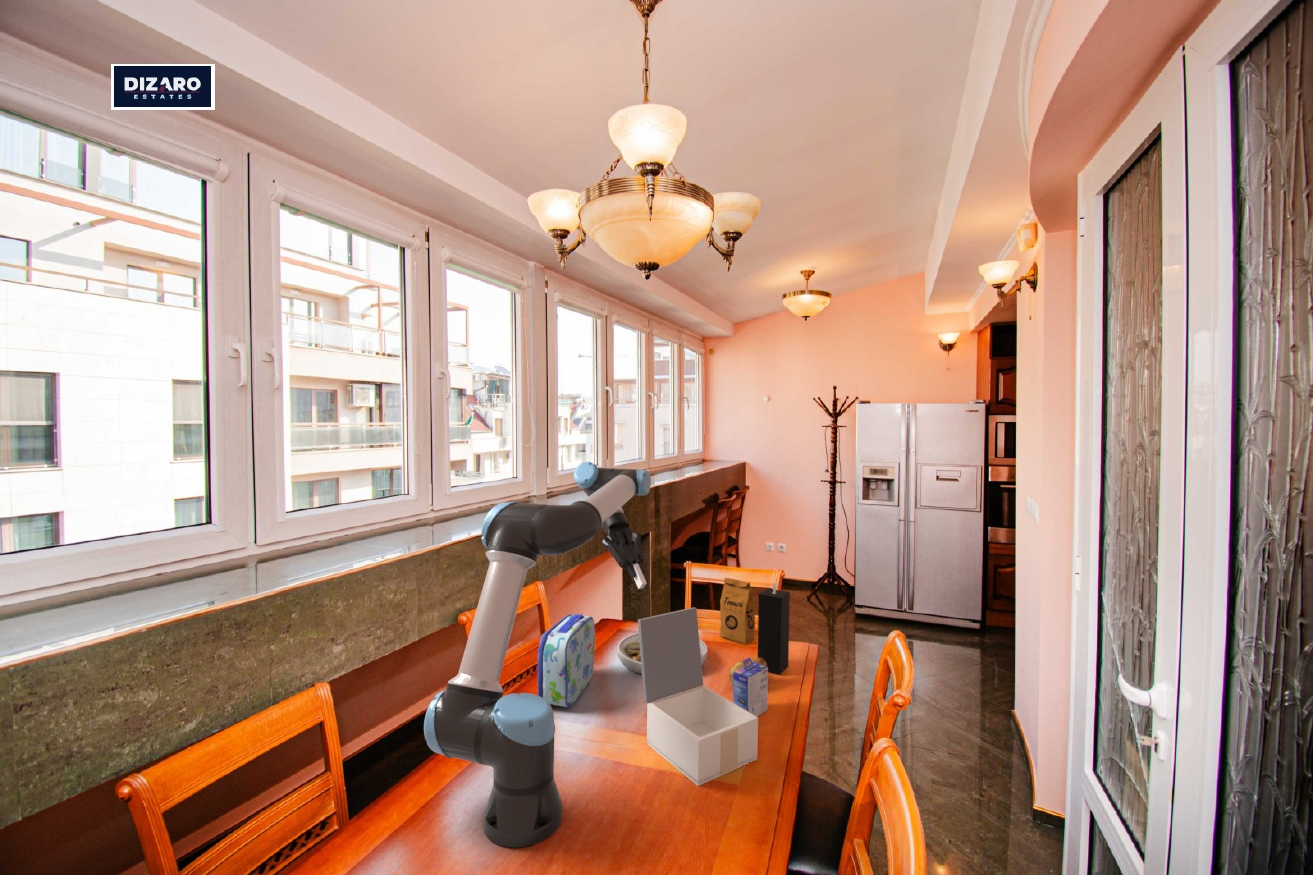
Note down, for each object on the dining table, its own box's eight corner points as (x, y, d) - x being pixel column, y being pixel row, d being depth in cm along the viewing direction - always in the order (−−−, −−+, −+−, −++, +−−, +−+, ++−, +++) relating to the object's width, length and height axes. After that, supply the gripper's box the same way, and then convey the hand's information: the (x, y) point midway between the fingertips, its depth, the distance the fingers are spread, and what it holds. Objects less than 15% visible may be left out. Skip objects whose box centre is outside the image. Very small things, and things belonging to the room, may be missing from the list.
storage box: (646, 743, 142) (647, 703, 141) (703, 722, 152) (703, 685, 152) (698, 786, 125) (699, 741, 125) (757, 760, 135) (758, 718, 135)
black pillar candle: (788, 667, 188) (790, 582, 187) (780, 675, 181) (781, 587, 180) (766, 661, 192) (767, 578, 191) (756, 669, 185) (758, 583, 185)
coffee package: (744, 647, 204) (745, 586, 203) (715, 638, 212) (716, 579, 212) (759, 640, 211) (760, 580, 211) (731, 631, 219) (732, 574, 219)
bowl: (598, 662, 190) (598, 639, 190) (657, 637, 213) (657, 616, 213) (668, 690, 171) (668, 664, 170) (724, 660, 193) (725, 637, 193)
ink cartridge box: (751, 703, 163) (752, 652, 163) (768, 710, 159) (769, 658, 159) (731, 715, 156) (732, 663, 156) (748, 723, 152) (749, 669, 152)
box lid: (646, 703, 142) (644, 702, 143) (703, 685, 152) (700, 684, 153) (640, 620, 144) (637, 619, 145) (696, 607, 154) (693, 607, 155)
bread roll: (747, 698, 166) (748, 671, 166) (719, 688, 172) (719, 661, 172) (769, 683, 176) (769, 657, 176) (741, 674, 182) (742, 649, 182)
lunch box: (565, 671, 183) (566, 605, 182) (598, 674, 180) (599, 608, 180) (532, 710, 157) (532, 635, 157) (569, 715, 155) (570, 638, 154)
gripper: (626, 524, 181) (655, 589, 167) (589, 527, 173) (617, 596, 160) (635, 509, 176) (667, 575, 163) (598, 512, 169) (628, 582, 155)
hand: (642, 586), depth 161 cm, fingers closed
